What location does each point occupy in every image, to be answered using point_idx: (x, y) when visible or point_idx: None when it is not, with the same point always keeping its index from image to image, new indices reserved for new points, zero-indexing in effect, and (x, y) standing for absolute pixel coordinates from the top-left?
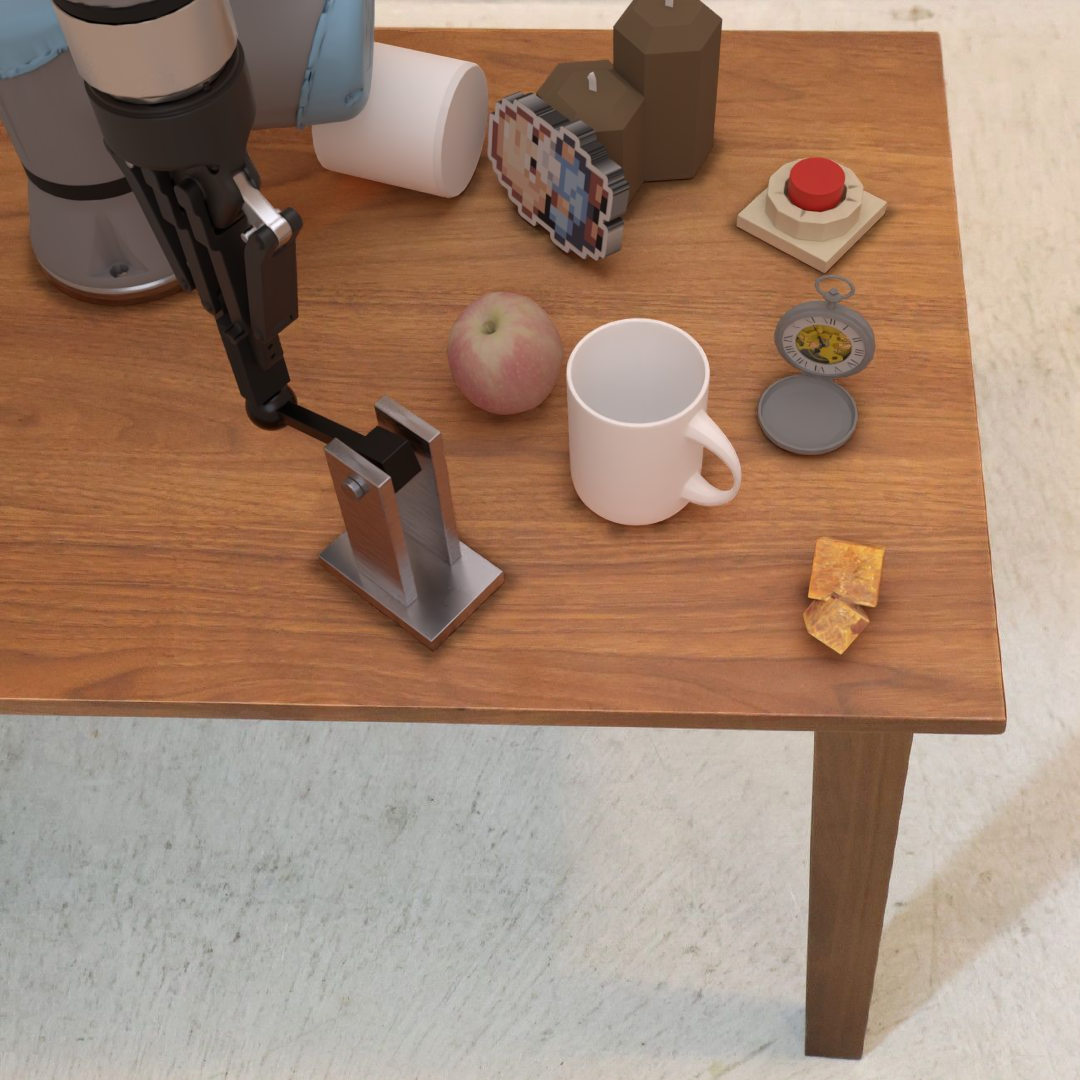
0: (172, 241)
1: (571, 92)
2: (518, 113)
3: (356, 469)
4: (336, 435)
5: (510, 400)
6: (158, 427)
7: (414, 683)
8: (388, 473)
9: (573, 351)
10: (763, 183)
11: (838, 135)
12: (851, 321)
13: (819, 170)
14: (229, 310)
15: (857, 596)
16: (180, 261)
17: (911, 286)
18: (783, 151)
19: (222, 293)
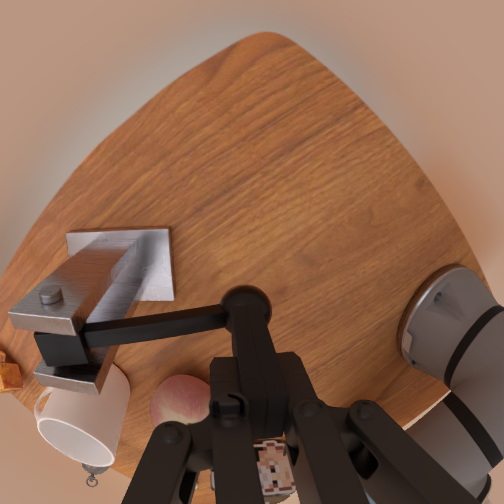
0: (401, 481)
1: (274, 499)
2: (290, 486)
3: (31, 317)
4: (126, 331)
5: (156, 391)
6: (355, 232)
7: (63, 206)
8: None
9: (104, 446)
10: (202, 479)
11: (200, 492)
12: (85, 468)
13: None
14: (247, 445)
15: None
16: (379, 454)
17: (123, 468)
18: (209, 486)
19: (259, 477)
